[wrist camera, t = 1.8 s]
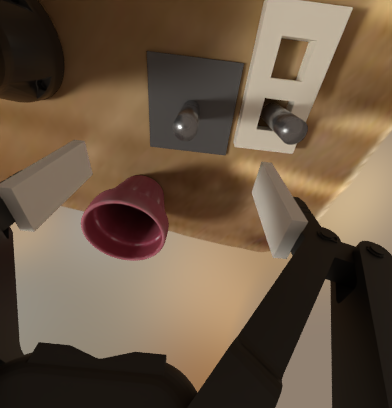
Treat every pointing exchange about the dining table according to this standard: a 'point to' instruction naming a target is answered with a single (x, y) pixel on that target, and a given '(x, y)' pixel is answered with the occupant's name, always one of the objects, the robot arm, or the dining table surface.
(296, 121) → the seated peg
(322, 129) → the dining table surface
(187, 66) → the mat
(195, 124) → the peg
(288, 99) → the hole board
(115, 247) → the plant pot
